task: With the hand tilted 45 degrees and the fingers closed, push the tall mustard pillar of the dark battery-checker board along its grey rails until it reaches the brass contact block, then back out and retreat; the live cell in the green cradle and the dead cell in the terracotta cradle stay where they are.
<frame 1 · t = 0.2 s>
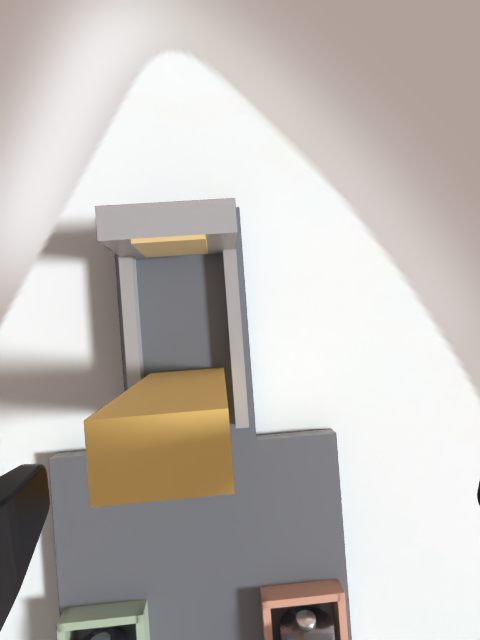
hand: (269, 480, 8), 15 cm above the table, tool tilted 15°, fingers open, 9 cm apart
checker: (190, 388, 24), on the table
tall mustard pillar: (179, 414, 17), point 7 cm above the table, slide at 0.0 cm
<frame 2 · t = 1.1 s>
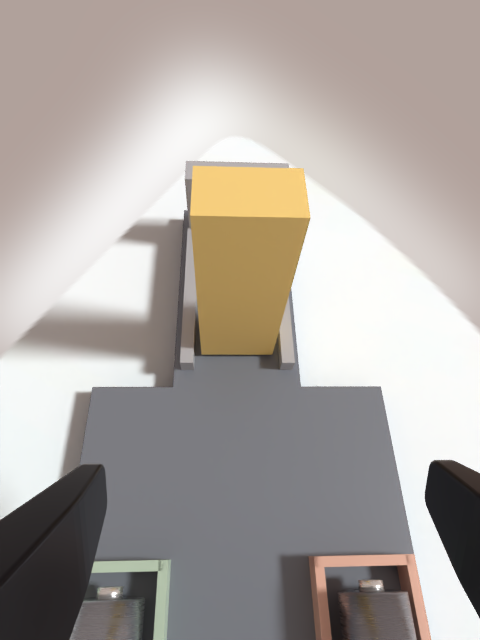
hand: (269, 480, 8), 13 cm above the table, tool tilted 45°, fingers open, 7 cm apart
checker: (235, 345, 25), on the table
tall mustard pillar: (241, 281, 19), point 7 cm above the table, slide at 0.0 cm
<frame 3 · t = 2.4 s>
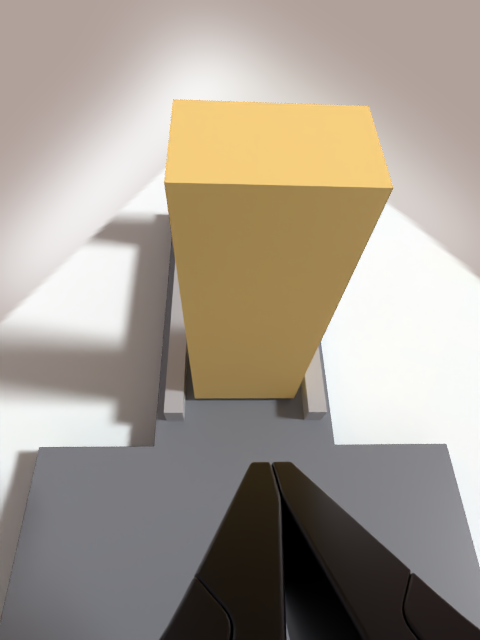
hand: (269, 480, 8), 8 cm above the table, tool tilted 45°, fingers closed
checker: (242, 382, 18), on the table
tall mustard pillar: (253, 299, 12), point 7 cm above the table, slide at 0.0 cm
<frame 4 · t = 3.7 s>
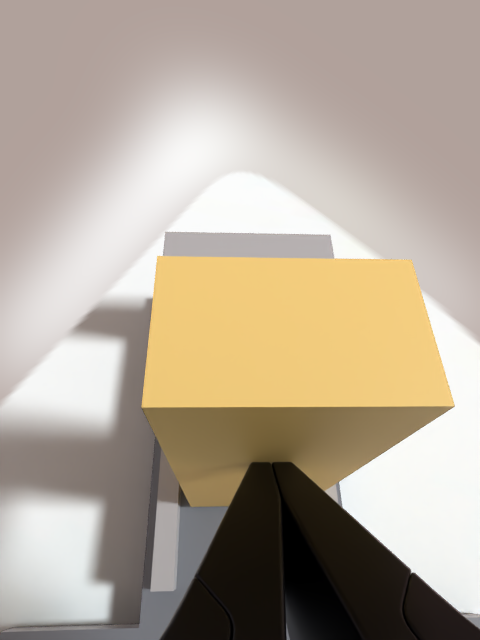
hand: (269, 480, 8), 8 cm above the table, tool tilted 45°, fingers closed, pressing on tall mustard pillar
checker: (245, 522, 15), on the table
tall mustard pillar: (259, 430, 10), point 7 cm above the table, slide at 1.6 cm, touching gripper
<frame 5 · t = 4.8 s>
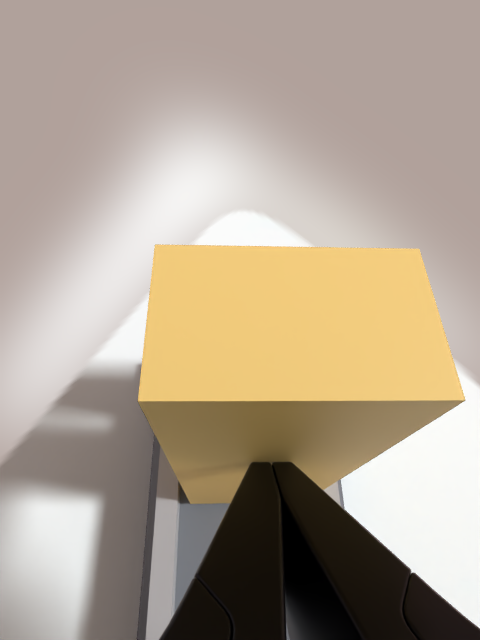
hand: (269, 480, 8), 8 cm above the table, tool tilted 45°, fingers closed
tall mustard pillar: (260, 426, 10), point 7 cm above the table, slide at 5.4 cm
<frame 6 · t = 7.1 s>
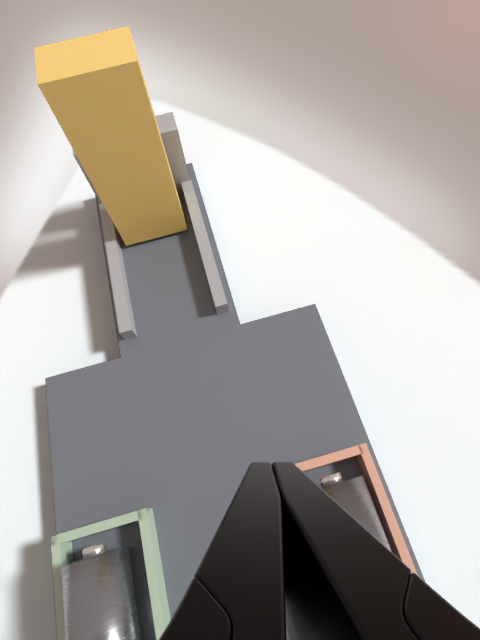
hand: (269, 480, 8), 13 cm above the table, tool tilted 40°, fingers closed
checker: (174, 303, 25), on the table
tall mustard pillar: (127, 158, 22), point 7 cm above the table, slide at 5.4 cm
dead cell: (353, 562, 18), point 1 cm above the table, touching checker
live cell: (121, 635, 18), point 1 cm above the table, tilted 9°, touching checker
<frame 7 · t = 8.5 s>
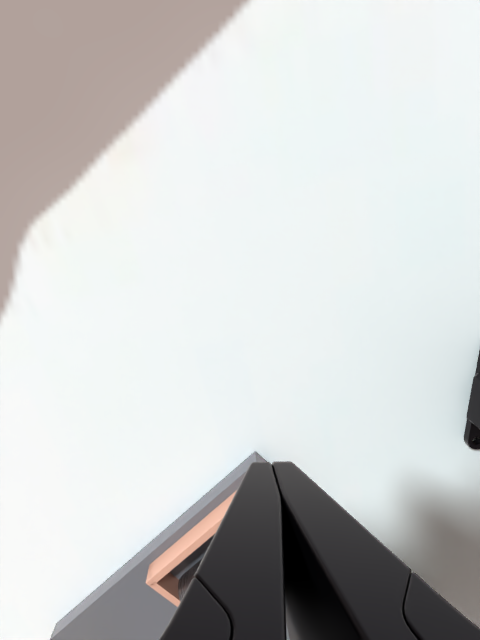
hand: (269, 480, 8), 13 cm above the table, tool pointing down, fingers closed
dead cell: (233, 539, 23), point 1 cm above the table, tilted 17°, touching checker
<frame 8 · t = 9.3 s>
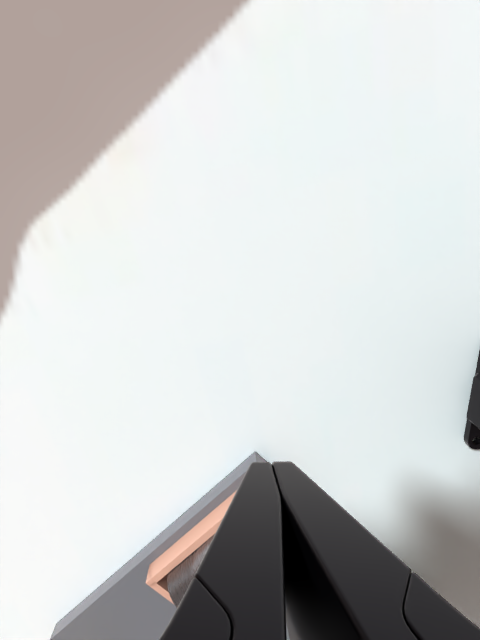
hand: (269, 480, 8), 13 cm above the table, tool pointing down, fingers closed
dead cell: (233, 539, 23), point 1 cm above the table, tilted 16°, touching checker
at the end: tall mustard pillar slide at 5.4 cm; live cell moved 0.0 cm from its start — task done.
